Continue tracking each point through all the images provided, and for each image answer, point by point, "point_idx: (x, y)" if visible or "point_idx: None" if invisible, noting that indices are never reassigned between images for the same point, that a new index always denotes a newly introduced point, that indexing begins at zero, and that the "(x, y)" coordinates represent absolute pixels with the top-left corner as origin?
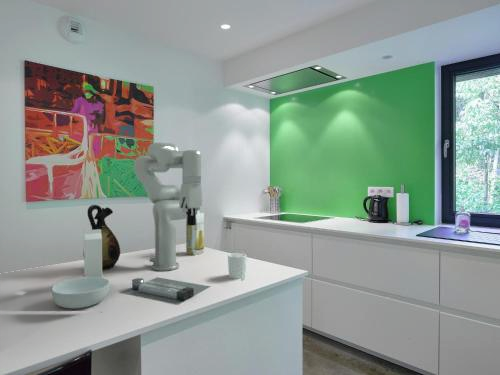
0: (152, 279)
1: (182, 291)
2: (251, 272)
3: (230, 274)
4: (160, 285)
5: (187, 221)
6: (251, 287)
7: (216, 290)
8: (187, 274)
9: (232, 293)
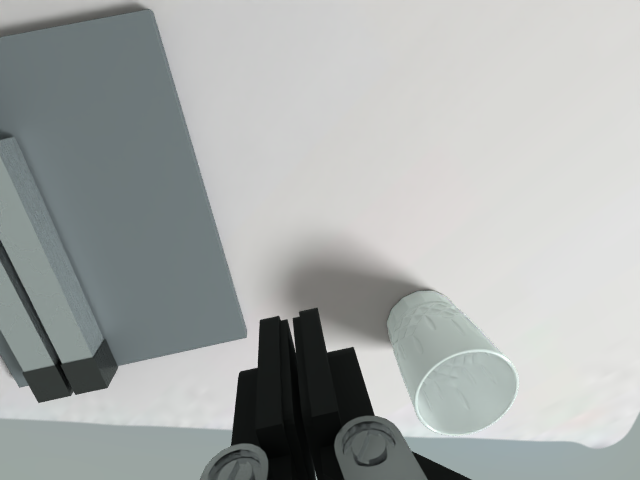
0: (102, 22)
1: (45, 386)
2: (528, 312)
3: (394, 327)
4: (8, 253)
5: (259, 351)
6: None
7: (250, 355)
8: (337, 83)
9: None
